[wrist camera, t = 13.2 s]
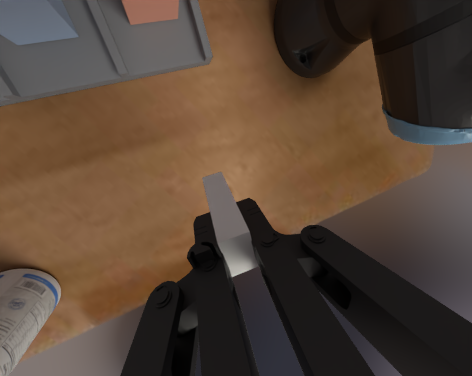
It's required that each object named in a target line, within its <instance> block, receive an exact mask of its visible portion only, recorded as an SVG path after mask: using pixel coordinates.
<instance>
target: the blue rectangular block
mask: <svg viewBox="0 0 472 376" xmlns="http://www.w3.org/2000/svg"><path fill="white" fill-rule="evenodd" d="M0 35H2V36H4V37H5V38H7V39H8V40H10V41H12V42H13V43H15V44H17V45H24V44H32V43H39V42H46V41H54V40H61V39H68V38H76V37H79V36H78V33H77V31H76V29H75V27H74V25H73V23H72V21H71V19H70V17H69V15H68V13H67V11H66V8H65V6H64V4H63V2H62V0H0Z"/></svg>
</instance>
